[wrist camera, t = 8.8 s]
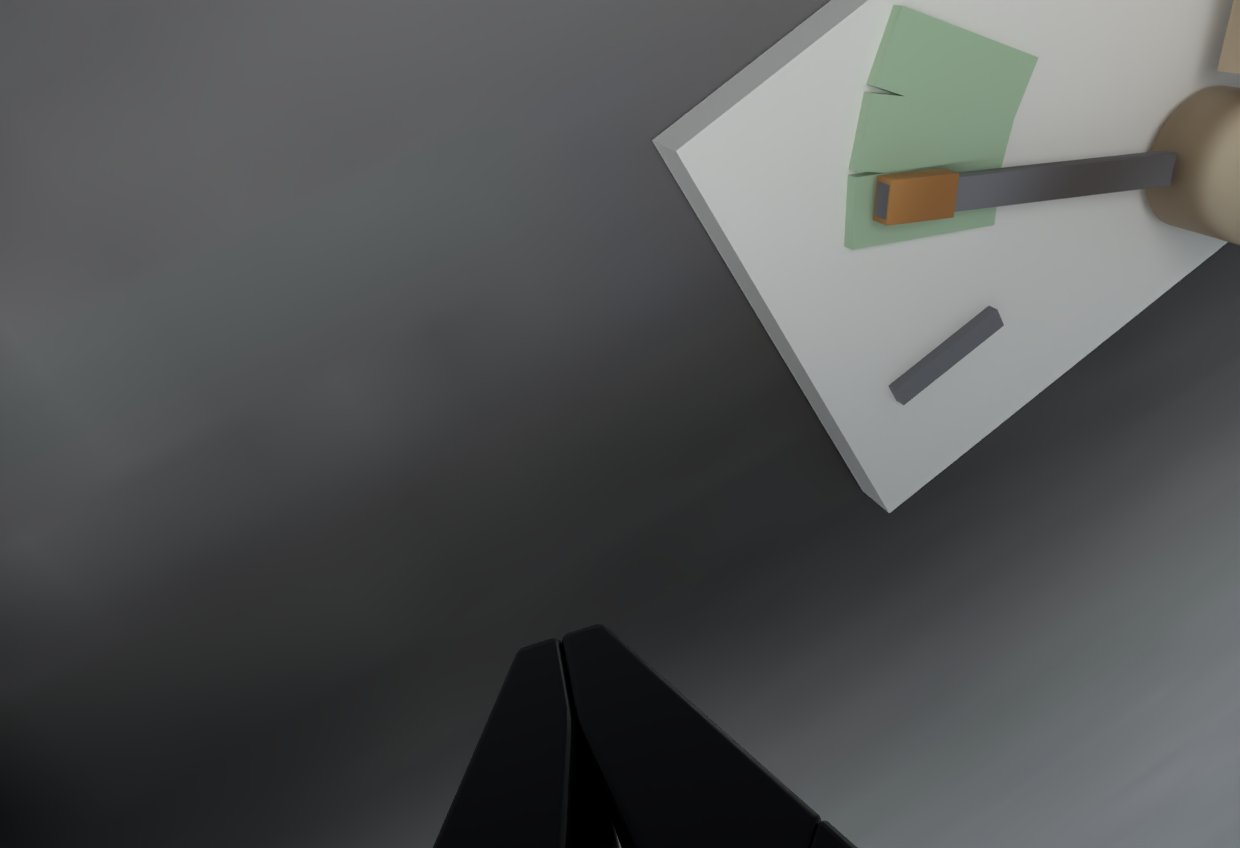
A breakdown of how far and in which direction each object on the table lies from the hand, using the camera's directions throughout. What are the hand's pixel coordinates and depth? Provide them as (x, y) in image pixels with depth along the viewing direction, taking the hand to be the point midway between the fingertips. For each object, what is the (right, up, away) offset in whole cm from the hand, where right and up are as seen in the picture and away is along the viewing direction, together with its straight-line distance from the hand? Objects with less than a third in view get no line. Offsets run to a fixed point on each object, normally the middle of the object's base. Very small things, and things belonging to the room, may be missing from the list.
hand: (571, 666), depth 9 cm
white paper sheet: (+9, +8, +13) cm, 18 cm away
